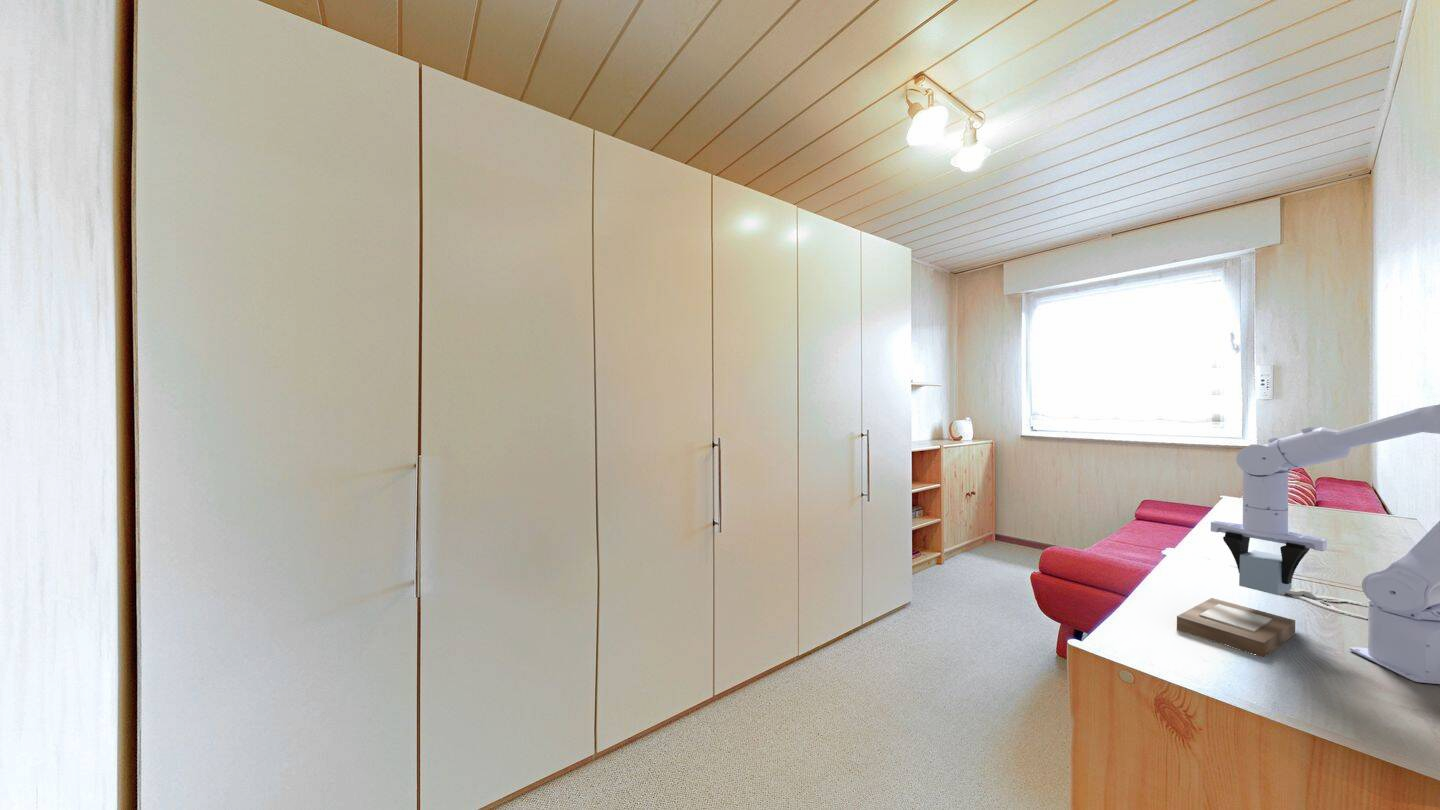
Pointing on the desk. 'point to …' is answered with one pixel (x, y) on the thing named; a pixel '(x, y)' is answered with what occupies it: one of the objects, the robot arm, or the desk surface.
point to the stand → (1237, 626)
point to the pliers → (1299, 592)
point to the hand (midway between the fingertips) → (1264, 577)
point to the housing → (1262, 572)
